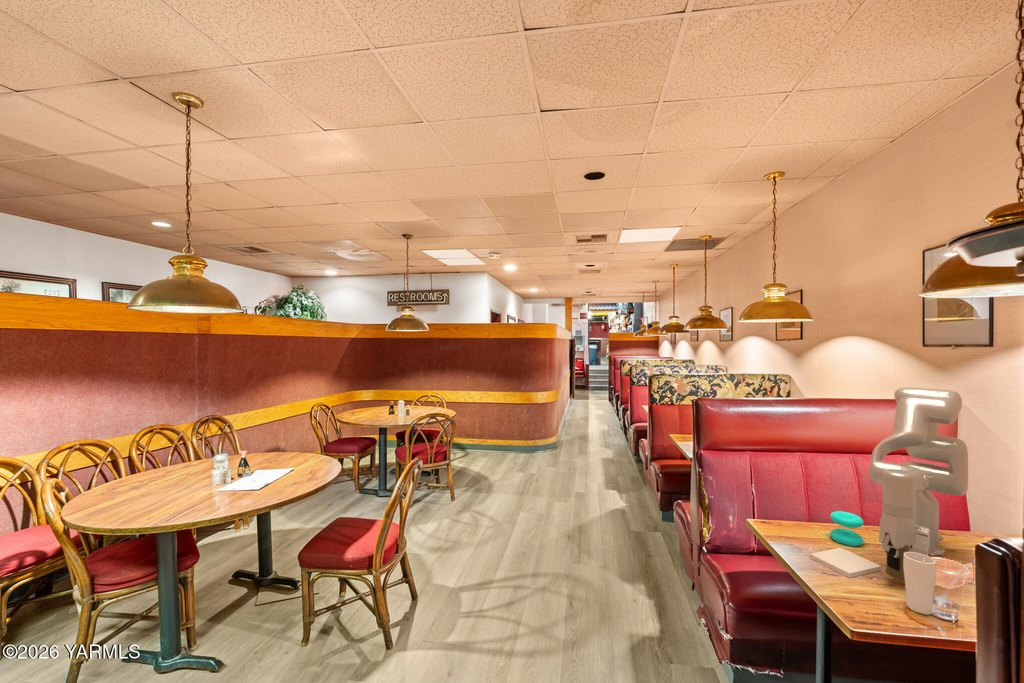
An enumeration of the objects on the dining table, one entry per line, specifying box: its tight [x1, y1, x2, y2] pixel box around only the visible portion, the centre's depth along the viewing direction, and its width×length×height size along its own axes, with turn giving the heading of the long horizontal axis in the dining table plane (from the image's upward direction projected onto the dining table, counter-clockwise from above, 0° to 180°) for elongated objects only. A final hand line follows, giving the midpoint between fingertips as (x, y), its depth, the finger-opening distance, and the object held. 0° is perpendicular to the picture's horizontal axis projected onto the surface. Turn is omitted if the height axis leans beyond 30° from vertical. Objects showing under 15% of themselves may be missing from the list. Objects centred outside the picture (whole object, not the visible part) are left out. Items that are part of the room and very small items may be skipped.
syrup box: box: [911, 525, 930, 557], centre depth 140 cm, size 6×6×14 cm
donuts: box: [829, 510, 865, 547], centre depth 161 cm, size 10×10×10 cm
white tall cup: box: [903, 552, 937, 616], centre depth 120 cm, size 7×7×15 cm
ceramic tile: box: [809, 547, 882, 579], centre depth 144 cm, size 15×13×2 cm
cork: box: [885, 544, 910, 582], centre depth 133 cm, size 6×6×11 cm
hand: (898, 566), depth 133 cm, fingers closed on cork, 4 cm apart
